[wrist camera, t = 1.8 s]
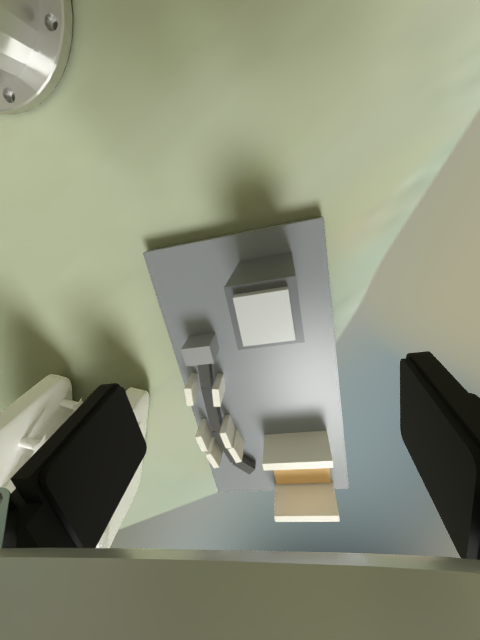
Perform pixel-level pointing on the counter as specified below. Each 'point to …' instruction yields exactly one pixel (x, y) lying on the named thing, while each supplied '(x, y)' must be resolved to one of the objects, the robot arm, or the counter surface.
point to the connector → (265, 302)
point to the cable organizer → (43, 421)
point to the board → (259, 371)
